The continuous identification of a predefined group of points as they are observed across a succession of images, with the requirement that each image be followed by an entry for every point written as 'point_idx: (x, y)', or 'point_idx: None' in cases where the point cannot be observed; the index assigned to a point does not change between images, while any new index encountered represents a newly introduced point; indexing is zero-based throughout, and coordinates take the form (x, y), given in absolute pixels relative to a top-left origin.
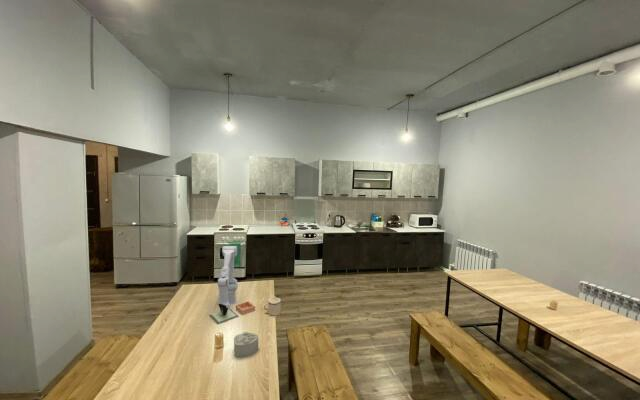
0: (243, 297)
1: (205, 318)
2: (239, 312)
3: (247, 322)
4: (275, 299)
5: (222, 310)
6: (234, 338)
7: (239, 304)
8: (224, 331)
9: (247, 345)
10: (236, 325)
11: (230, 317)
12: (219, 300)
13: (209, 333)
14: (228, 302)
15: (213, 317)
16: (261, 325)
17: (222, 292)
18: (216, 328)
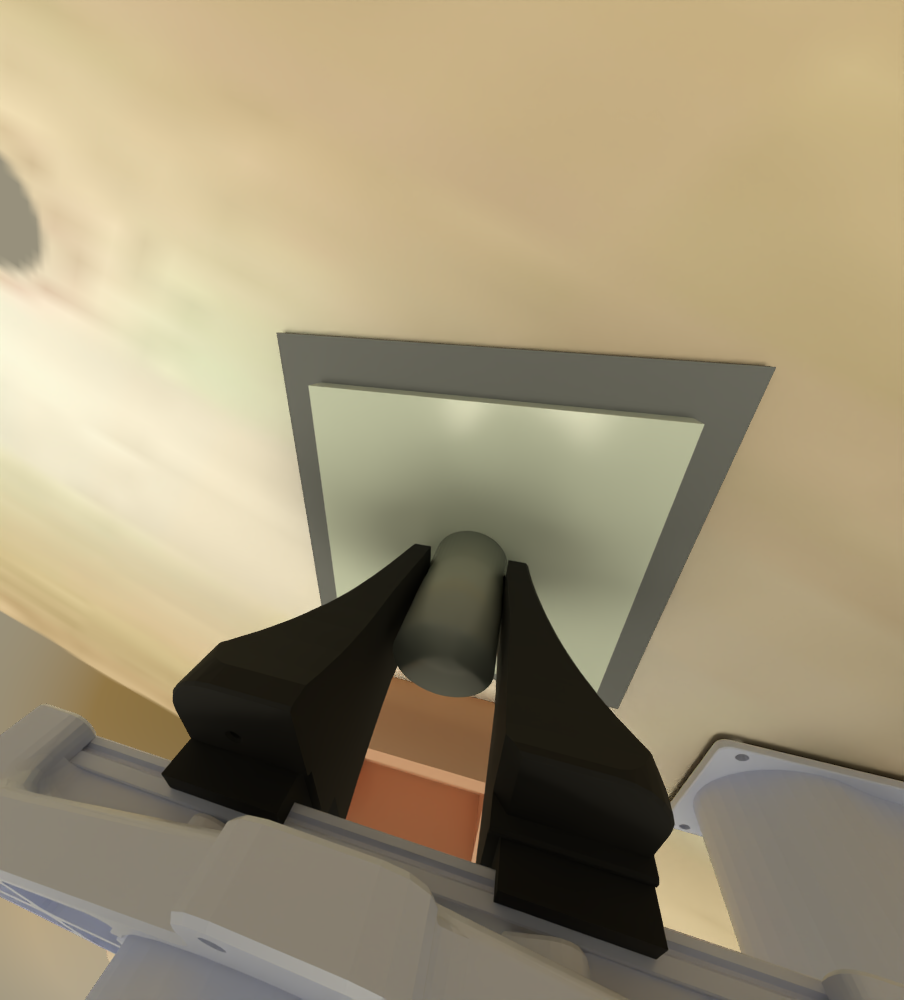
0: (708, 888)
1: (730, 235)
2: (406, 692)
3: (195, 614)
4: (110, 961)
5: (374, 600)
6: None
7: None
8: (83, 335)
9: None
10: (177, 520)
11: (335, 573)
12: None
13: (67, 38)
14: (111, 951)
15: (572, 402)
16: (114, 641)
17: None
18: (195, 266)
